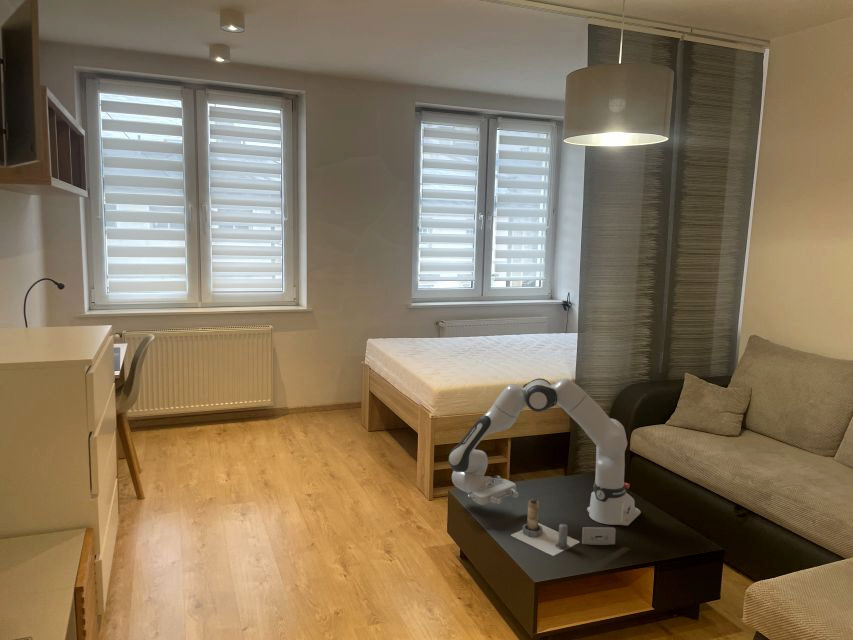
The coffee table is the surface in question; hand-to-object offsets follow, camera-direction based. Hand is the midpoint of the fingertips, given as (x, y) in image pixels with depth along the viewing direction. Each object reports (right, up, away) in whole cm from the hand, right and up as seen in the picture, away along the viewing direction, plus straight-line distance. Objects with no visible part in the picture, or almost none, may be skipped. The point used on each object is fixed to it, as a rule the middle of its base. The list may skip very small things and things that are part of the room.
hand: (509, 498), depth 252 cm
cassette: (+31, -14, -15) cm, 37 cm away
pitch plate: (+12, -13, -12) cm, 21 cm away
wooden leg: (+8, -11, -8) cm, 15 cm away
